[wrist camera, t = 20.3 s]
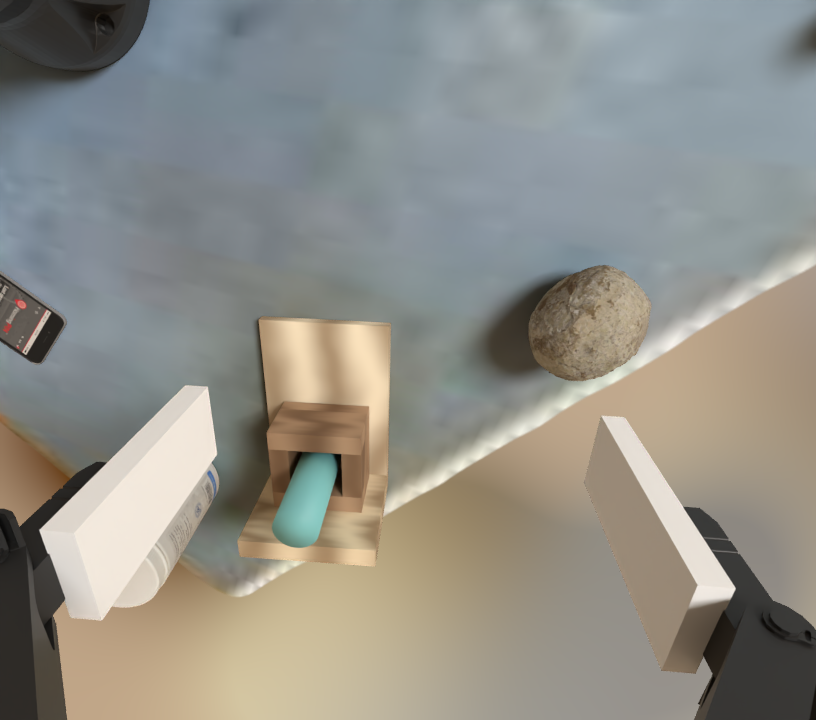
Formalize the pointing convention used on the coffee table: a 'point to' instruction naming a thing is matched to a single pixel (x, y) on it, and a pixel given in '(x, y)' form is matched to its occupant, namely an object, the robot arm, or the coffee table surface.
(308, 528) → the dowel
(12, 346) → the smartphone
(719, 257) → the coffee table surface
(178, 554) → the supplement tub
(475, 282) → the coffee table surface
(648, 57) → the coffee table surface
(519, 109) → the coffee table surface
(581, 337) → the decorative stone
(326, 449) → the block
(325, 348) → the jig
